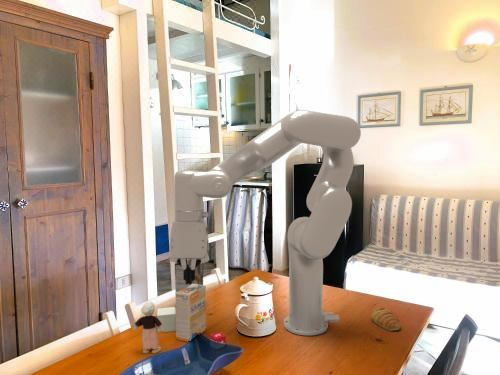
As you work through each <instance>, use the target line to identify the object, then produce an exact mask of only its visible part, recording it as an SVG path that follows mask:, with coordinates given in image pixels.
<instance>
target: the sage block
mask: <svg viewBox="0 0 500 375" xmlns="http://www.w3.org/2000/svg"><path fill="white" fill-rule="evenodd" d="M156 314H157V316H156V317H157V318H158V319H159V320H160V322H161V323H162V326H163V329H164V332H163V333H167V332H176V306H172V307H171V306H170V307H160V308H157V313H156ZM159 333H161V332H160V329H159V328H158V327H157V334H159Z"/></svg>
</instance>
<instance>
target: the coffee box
mask: <svg viewBox="0 0 500 375" xmlns="http://www.w3.org/2000/svg"><path fill="white" fill-rule="evenodd" d="M187 260H188V265H189V267H190V266H191V261H192V259H187ZM203 264H204V263H200V264H199V265H198V266H197V267H196V268H195V280H193V283H192V284H198V285H204V265H203ZM174 283H175V285H174V287H175V293H176V292H178V291H180V290H182V289H183V288H185V287H187V286H189V285H191V284H185V280H184V279H183V269H182V267H181V266H180V265H179V264H178V263H175V262H174Z"/></svg>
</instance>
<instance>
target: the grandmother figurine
mask: <svg viewBox="0 0 500 375" xmlns="http://www.w3.org/2000/svg"><path fill="white" fill-rule="evenodd" d="M140 312H141V313H142V314H144V316H141V317H139V318H138V319H137V320H136V321H135V323H134V327H133V331H134V332H137V331H138V329H139V327H142V330H141V331H142V332H141V334H142V337H141V338H142V340H141V341H142V348H143V350H142V353H143V354H149V353H150V352H151V353H152V354H157V353H159V352H160V351H161V350H162V348H161V345H159V339H158V328H159V329H160V332H159V333H165V332H164V329H163V326H162V323H161V322H160V320H159V319H158V318H157V316H154V313H155V303H154V302H153V301H146V302H145V303H144V304H143V305H142V307H141V310H140Z"/></svg>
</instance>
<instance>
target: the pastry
mask: <svg viewBox="0 0 500 375" xmlns="http://www.w3.org/2000/svg"><path fill="white" fill-rule="evenodd" d="M371 318H372V321H373V322H374V324H376V325H377V326H379V327H381V328H382V329H384V330H387V331H389V332H393V331H398V330H400V328H401V327H402V325H401V321H400V319H399V317H398V316H397V314H396V313H395V312H393V310H390V309H387V307H383V306H379V307H378V308H375V309H374V310H373V311H372V313H371Z"/></svg>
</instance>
